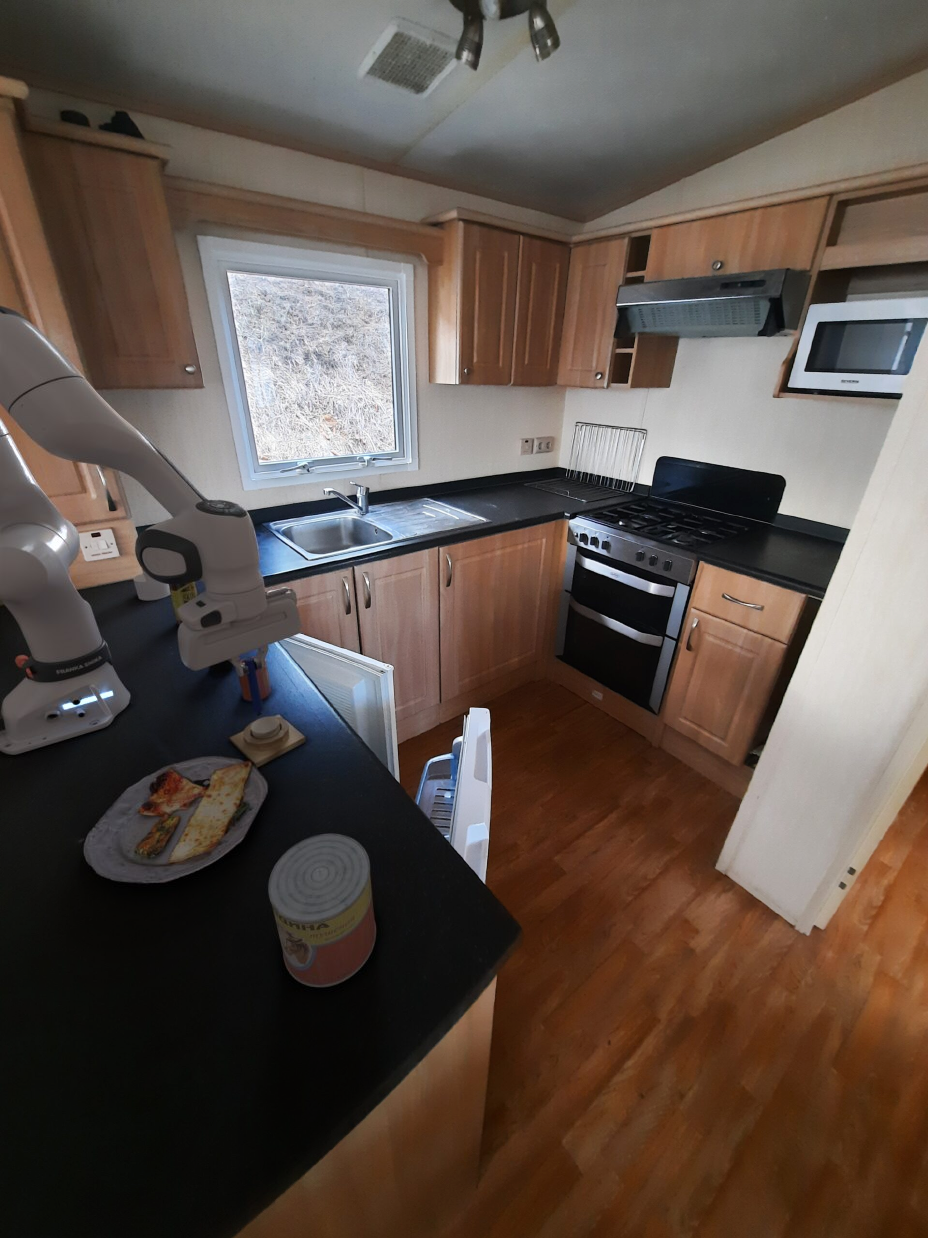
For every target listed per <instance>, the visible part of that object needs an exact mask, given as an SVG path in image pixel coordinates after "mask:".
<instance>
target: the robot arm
mask: <svg viewBox="0 0 928 1238" xmlns="http://www.w3.org/2000/svg"><path fill="white" fill-rule="evenodd" d="M0 406H1V407H2V408H3V409H4V410H5V411H6V413H8V415H9V416H10V417H11V418H12V419H13V421H14V422H15V423H16V424H17V426H18V427H19V428H20V429H21V430H22V431H23V432H24V433H25V434H26V436H28V438H29V439H31V440H32V441H33V442H34V443H35V444H36V445H38V446H39V447H40V448H42V449H43V450H45V452H47V453H49V454H50V455H52V456H55V457H58V458H60V459H63V460H67V461H71V462H75V463H81V464H88V465H95V466H101V467H105V468H108V469H112V470H116V471H119V472H121V473H123V474H125V475H126V476H129V477H131V478H132V479H134V480H135V481H137V483H139V484H140V485H141V487H143V488H144V489H145V490H146V491H147V492H148V493H149V494H150V496H152V498H154V499H155V501H156V502H157V503H159V504H160V505H161V506H162V507H163V508H164V510H166V511H167V512H168V513H169V514H170V516H171V517H172V518H168V519H165V520H162V521H161V522H158V523H155V524H154V525H151V526H149V527H148V528H146V529H145V530H143V531H141V532H140V533H139V534H138V535H137V537H136V540H135V543H134V552H135V554H134V555H135V558H136V560H137V563H138V565H139V566H140V568H141V570H142V569H143V570H144V571H145V572H146V573H147V574H148V575H149V576H150V577H151V578H153V579H155V580H157V581H159V582H161V583H165V584H183V583H190V582H195V583H196V582H202V583H203V585H204V588H205V590H204V591H203V592H201V593H200V594H197V597H195V598H194V599H192V600H190V601H189V602H187V603H185V604H183V605H182V606H180V607H179V608H178V610H177V613H178V616H179V618H180V619H181V620H182V623H181V625H179V626H178V629H177V644H178V651H179V656H180V661H181V662H182V663H183V665H184V666H185V667H186V668H188V669H190V670H191V671H194V672H198V671H200V670H203V669H206V668H209V666H211V665H214V664H217V663H220V662H223V661H225V660H229V661H230V662H231V663H232V664H233V667H235V672H236V674H237V675H239V676H240V677H242V676H244V675H247V674H249V671H248V666H247V665H246V664H245V663H243V662H242V663H238V662H239V661H241V657H240V656H241V655H244V654H247V653H250V652H252V651H253V652H254V651H256V650H257V651H256V654H255V656H254V657H255V658H254V662H255V668H256V670H259V669H262V668H264V667H265V664H264V659H266V656H267V655H268V652H269V645H273V644H275V643H277V642H280V641H283V640H285V639H289V638H291V637H294V636H296V635H299V634H300V632H301V631H302V629H303V625H302V619H301V615H300V612H299V609H298V607H297V605H298V604H297V603H298V599H297V593H296V591H295V590H294V589H293V588H291V587H287V586H282V587H279V588H276V589H272V590H268V591H266V586H265V582H264V581H265V580H264V577H263V573H261V570H260V559H261V558H260V557H261V555H260V549H259V544H258V538H257V534H256V529H255V527H254V523H253V520H252V518H251V516H250V514H249V511H247V509H246V508H245V507H244V506H242V505H240V504H238V503H236V502H234V501H229V500H224V499H208V498H207V497H205V495H203V494H202V493H201V492H200V491H199V490H198V489H197V488H196V487H195V486H194V485H193V483H192V482H191V481H190V480H189V479H188V478H187V477H186V476H185V475H184V474H183V472H182V471H180V469H179V468H178V467H177V466H176V465H175V464H174V463H173V462H172V461H171V460H170V459H169V457H168V456H167V455H165V453H164V452H163V451H162V450H161V449H159V447H158V446H157V445H156V444H155V443H154V442H153V441H152V440H151V439H150V438H149V437H148V436H147V435H145V434H144V433H143V432H142V431H140V430H139V429H138V428H137V427H135V426H134V425H132V424H131V423H130V422H129V421H127V420H126V419H125V418H124V417H122V416H121V414H119V413H118V412H117V411H116V410H115V409H114V408H113V407H112V406H111V405H110V404H109V403H108V402H107V401H106V400H105V399H104V398H103V397H102V396H101V395H100V394H99V392H98V391H96V390H95V387H93V386H92V385H91V383H90V382H89V381H88V380H87V379H86V377H85V376H84V375H83V374H82V372H81V371H80V370H79V369H78V368H77V366H76V365H75V364H74V363H73V362H72V361H71V360H70V358H68V357H67V355H66V354H65V353H64V352H63V351H62V350H61V349H60V348H59V347H58V346H57V345H56V344H55V343H54V342H53V341H52V340H51V339H49V337H47V336H46V335H45V333H43V332H42V331H41V330H40V329H39V328H38V327H37V326H35V325H34V324H33V323H32V322H30V321H29V320H28V319H27V318H26V317H25V316H23V315H22V314H21V313H19V312H18V311H16V310H14V309H12V308H10V307H5V306H2V305H0ZM80 547H81V539H80V533H79V531H78V529H77V528H76V527H75V525H74V524H73V523H72V522H71V521H69V520H68V519H67V518H65V517H64V516H63V515H62V513H61V512H60V510H59V509H58V508H57V507H56V506H55V504H54V503H53V502H52V501H51V499H50V498H49V497H48V495H47V494H46V493H45V492H44V490H43V489H42V487H41V486H40V485H39V483H38V482H37V480H36V479H35V478H34V476H33V474H32V472H31V470H30V468H29V466H28V465H27V463H26V461H25V459H24V457H23V456H22V453H21V452H20V450H19V448H18V446H17V444H16V443H15V441H14V439H13V436H12V435H11V434H10V431H9V430H8V428H7V426H6V425H5V423H4V421H3V420H2V417H0V601H1V602H2V604H3V605H4V606H5V607H6V608H7V610H8V611H9V612H10V613H11V615H12V616H13V618H14V619H15V621H16V622H17V625H18V626H19V628H20V631H21V634H22V635H23V637H24V640H25V642H26V645H27V647H28V649H29V651H30V654H31V655H30V656H29V657H28V655H25V654H21V655H20V654H19V655H18V656H16V657H15V659H14V662H15V664H16V666H17V667H18V668H21V669H22V671H23V674H24V676H25V677H24V678H23V679H22V680H21V681H20V682H19V683H18V684H17V685H16V686H15V687H14V688H13V689H12V690H10V692H9V693H8V694H6V696H5V697H4V698H3V700H2V703H1V707H0V752H2V753H3V754H6V755H11V756H13V755H14V756H15V755H20V754H23V753H27V752H30V751H33V750H36V749H39V748H43V747H46V746H49V745H52V744H55V743H60V742H63V741H65V740H68V739H72V738H76V737H79V736H82V735H85V734H88V733H92V732H95V731H98V730H102V729H105V728H106V727H108V726H110V725H111V724H112V722H113V721H114V720H115V717H116V716H117V715H119V714H120V713H121V712H122V711H124V710H125V709H126V708H127V707H128V706H129V704H130V700H131V693H130V691H129V690H128V689H127V688H126V686H125V684H124V683H122V681H121V679H120V677H119V676H118V674H117V672H116V670H115V669H114V666H113V664H114V663H113V657H112V655H111V654H112V653H111V651H110V648H109V645H108V643H107V642H106V640H105V639H104V638H103V637H102V635H101V632H100V630H99V626H98V624H97V621H96V618H95V614H94V612H93V609H92V606H91V604H90V603H89V602H88V601H87V600H85V599H84V598H83V597H82V596H81V595H80V593H79V592H78V590H77V588H76V587H75V585H74V583H73V581H72V578H71V575H70V567H71V565H73V563H75V561H76V559H77V558H78V556H79V553H80V549H81V548H80ZM143 570H142V571H143ZM239 676H238V677H239Z"/></svg>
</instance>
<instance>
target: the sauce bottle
mask: <svg viewBox="0 0 928 1238" xmlns="http://www.w3.org/2000/svg"><path fill="white" fill-rule="evenodd" d="M169 587H170V588H169V590H170V598H171V603H172V608H173V611H174V617H175V619H176V622H177V625H179V626H180V625H181V623H182V620H181V619H180V618H179V616H178V613H177V610H178V608H179V607H180V606H182V605H183V604H185V603H187V602H189V601H190V600H192V599H194V598H195V597H197V596H198V591H197V588H196V581H195V582H190V583H183V584H169Z"/></svg>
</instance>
